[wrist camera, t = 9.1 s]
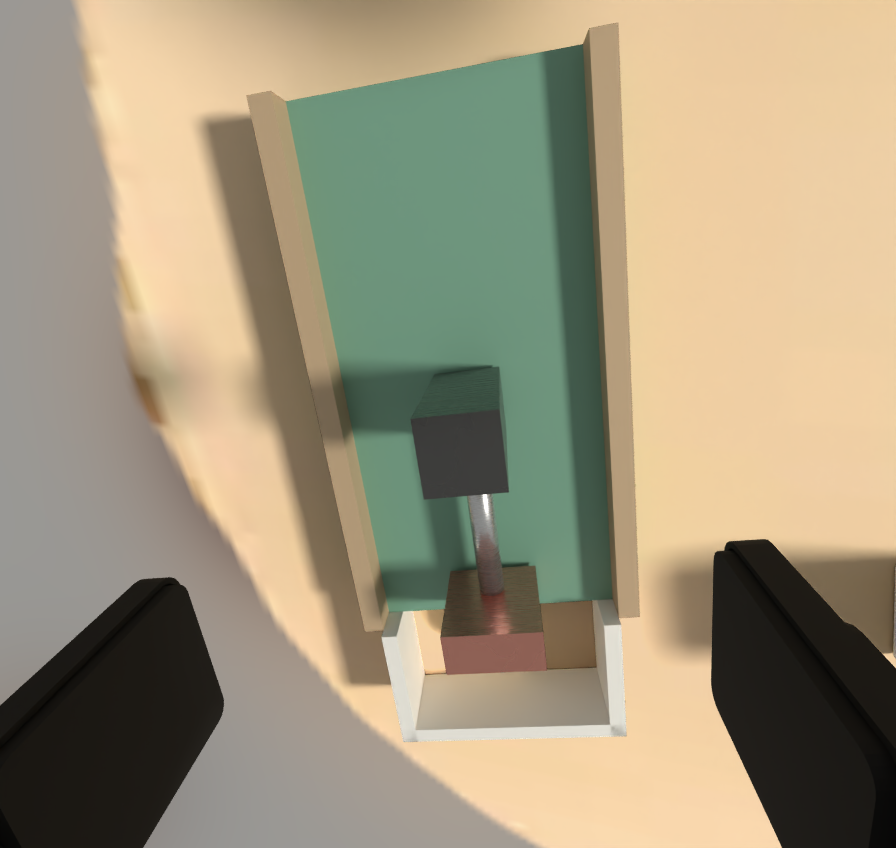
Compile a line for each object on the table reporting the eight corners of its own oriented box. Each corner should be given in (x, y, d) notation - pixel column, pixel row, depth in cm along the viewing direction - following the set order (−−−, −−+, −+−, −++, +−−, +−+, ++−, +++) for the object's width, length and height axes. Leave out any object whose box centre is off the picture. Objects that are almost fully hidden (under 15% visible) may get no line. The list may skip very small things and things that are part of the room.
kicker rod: (419, 375, 24) (389, 421, 18) (514, 364, 24) (521, 407, 17) (455, 603, 28) (442, 712, 21) (538, 598, 27) (551, 708, 21)
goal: (395, 590, 31) (381, 637, 27) (605, 576, 29) (621, 624, 25) (414, 685, 33) (403, 741, 29) (611, 677, 31) (626, 736, 28)
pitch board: (281, 117, 24) (246, 95, 20) (600, 57, 22) (618, 22, 18) (379, 591, 31) (365, 631, 28) (623, 575, 29) (639, 616, 26)
